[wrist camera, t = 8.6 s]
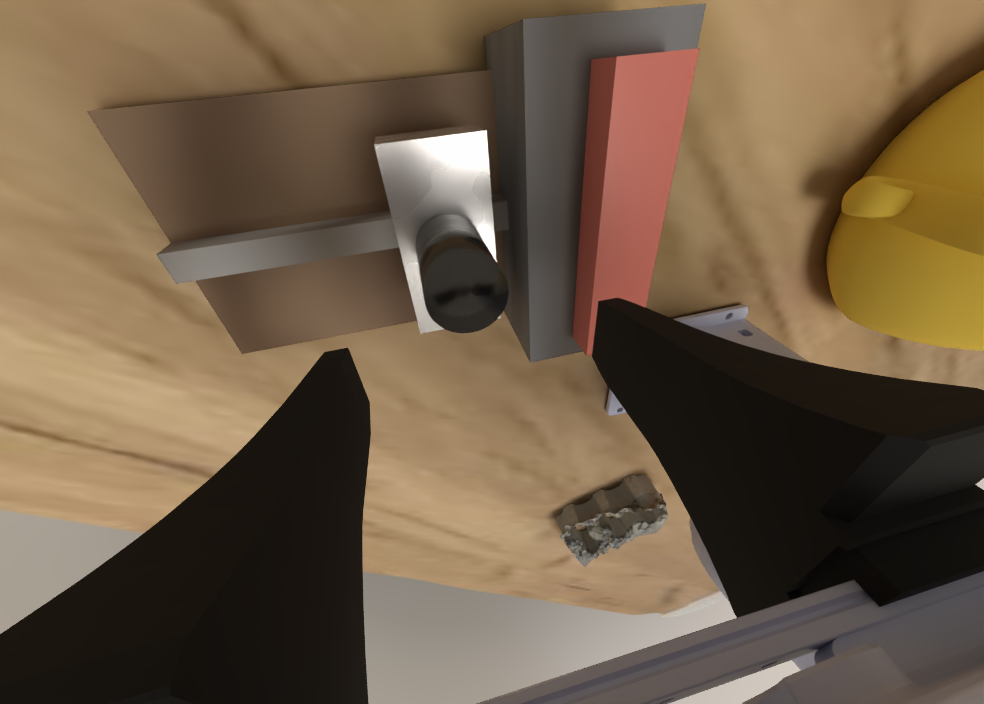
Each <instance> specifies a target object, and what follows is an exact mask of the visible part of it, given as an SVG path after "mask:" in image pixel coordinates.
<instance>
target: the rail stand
mask: <svg viewBox="0 0 984 704" xmlns="http://www.w3.org/2000/svg"><path fill="white" fill-rule="evenodd" d="M705 6H706V4H694V5H682V6H671V7H659V8H647V9H635V10H623V11H612V12H600V13H588V14H576V15H564V16H553V17H541V18H529V19H522V20H520V21H518V22H515V23H513V24H511V25H509V26H507V27H504V28H502V29H500V30H498V31H496V32H493V33H491V34H489V35H487V36H485V37H484V40H485V54H486V68H487V70H483V71H474V72H464V73H454V74H444V75H435V76H425V77H415V78H405V79H396V80H386V81H376V82H366V83H356V84H347V85H337V86H327V87H317V88H308V89H298V90H288V91H278V92H269V93H259V94H249V95H239V96H230V97H220V98H210V99H200V100H191V101H181V102H171V103H161V104H152V105H142V106H132V107H122V108H113V109H103V110H93V111H87V112H88V114H89V115H90V117H91V119H92V120H93V122H94V123H95V125H96V126H97V128H98V130H99V131H100V133H101V134H102V136H103V137H104V139H105V140H106V142H107V144H108V145H109V147H110V148H111V150H112V151H113V153H114V155H115V156H116V158H117V159H118V161H119V162H120V164H121V165H122V167H123V169H124V170H125V172H126V173H127V175H128V176H129V178H130V180H131V181H132V183H133V184H134V186H135V187H136V189H137V190H138V192H139V194H140V195H141V197H142V198H143V200H144V201H145V203H146V205H147V206H148V208H149V209H150V211H151V212H152V214H153V215H154V217H155V219H156V220H157V222H158V223H159V225H160V226H161V228H162V230H163V231H164V233H165V234H166V236H167V237H168V239H169V240H170V242H171V244H170V245H168V246H167V247H166V248H164V249H163V250H162V251H160V252H159V253H158V254H156V255H157V256H158V258H159V259H160V261H161V262H162V264H163V265H164V267H165V268H166V270H167V271H168V272H169V274H170V275H171V277H172V278H173V280H174V281H175V283H176V284H178V283H184V282H190V281H196V283H197V284H198V286H199V287H200V289H201V290H202V292H203V294H204V295H205V297H206V298H207V300H208V301H209V303H210V304H211V306H212V308H213V309H214V311H215V312H216V314H217V315H218V317H219V319H220V320H221V322H222V323H223V325H224V326H225V328H226V329H227V331H228V333H229V334H230V336H231V337H232V339H233V340H234V342H235V344H236V345H237V347H238V348H239V350H240V351H241V353H242V354H244V353H249V352H254V351H260V350H265V349H270V348H275V347H281V346H286V345H291V344H296V343H302V342H307V341H312V340H317V339H323V338H328V337H333V336H338V335H344V334H349V333H354V332H360V331H365V330H370V329H375V328H381V327H386V326H391V325H396V324H402V323H407V322H412V321H417V317H416V313H415V309H414V305H413V301H412V297H411V293H410V289H409V285H408V281H407V277H406V273H405V269H404V265H403V261H402V256H401V252H400V248H399V244H398V240H397V236H396V232H395V228H394V224H393V220H392V216H391V212H390V208H389V204H388V200H387V195H386V191H385V187H384V183H383V179H382V175H381V171H380V167H379V163H378V159H377V155H376V151H375V147H374V142H375V137H377V136H385V135H393V134H401V133H410V132H418V131H426V130H434V129H442V128H451V127H459V126H467V125H476V126H478V127H480V128H482V129H484V130H486V131H487V144H488V157H489V170H490V183H491V195H492V208H493V221H494V234H495V247H496V260H497V264H498V265H499V267H500V269H501V270H502V272H503V274H504V275H505V278H506V280H507V283H508V289H509V295H508V301H507V304H506V306H505V309H504V312H505V314H506V316H507V318H508V320H509V322H510V324H511V325H512V327H513V329H514V331H515V333H516V335H517V337H518V339H519V341H520V343H521V345H522V347H523V349H524V351H525V353H526V355H527V357H528V359H529V361H530V362H535V361H540V360H544V359H549V358H554V357H559V356H563V355H568V354H573V353H577V352H582V349H581V348H580V346H579V345H578V344H577V342H576V341H575V340H574V338H573V324H574V310H575V295H576V280H577V265H578V251H579V236H580V221H581V206H582V192H583V177H584V162H585V147H586V133H587V118H588V103H589V88H590V74H591V59H599V58H609V57H618V56H628V55H638V54H647V53H657V52H667V51H677V50H687V49H696V48H697V46H698V41H699V36H700V31H701V26H702V21H703V16H704V11H705Z"/></svg>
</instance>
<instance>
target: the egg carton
mask: <svg viewBox="0 0 984 704" xmlns="http://www.w3.org/2000/svg"><path fill="white" fill-rule="evenodd" d="M665 506H666V503H665V501H664V499H663V497H662V494H659V493H658V491H657V490H656V489H655V487H654V486H653V484H652V483H651V481H650V480H649V478H648V477H647V475H646V474H643V475H639V476H636V475H634V474H632V475H629V476H627V477H625V478H624V479H623V482H622V483H621V484H620V485H619V486H618V487H616V488H614V489H612V490H603V489H601V490H599V491H597V492H596V493H594V494H593V495H592V498H591V499H590V500H589V501H587V502H586V503H584V504H581V505H573V504H570V505H567V506H565V507H564V508H563V511H562V513H561V514H560V515H558V516H557V517H556V519H557V521H558V524H559V526H560V529H561V532H562V534H563V535H560V537H561V539H562V540H564V542H565V544H566V545H567V547H568V548H569V549H570V550H571V552H572V553H573V554H574V556H575V557H576V559H578V560H579V562H580V563H581V564H582V565H583V566H584V567H585V566H587V565H588V563H589V562H590V561H591V560H592V559H594V558H597V557H598V556H599V554H600V553H603V554H605V553H607V552H608V549H609V548H614V549H616V550H618V549H619V547H620V546H621V545H622V544H624V543H626V542H629V541H632V540H633V539H634V538H636V537H638V536H641V535H647V534H653V533H655V532H657V531H659V530H660V529H661V527H662V526H663V524H664V523H665V521H666V520H667V515H668V514H667V511H666V507H665ZM605 514H610V515H612V516H613V517H611V518H607V517H606V515H605ZM578 524H579V525H580V526H584V525H585V526H586V528H587V529H586V530H583V531H580V530H576V527H575V525H578Z"/></svg>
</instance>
